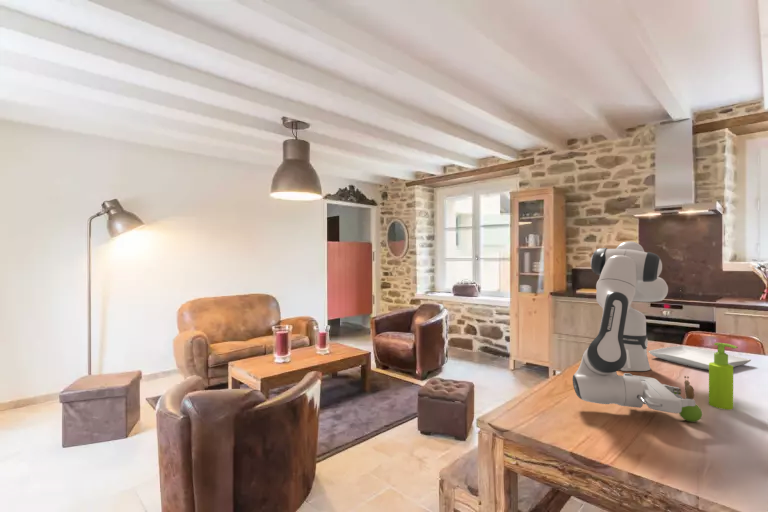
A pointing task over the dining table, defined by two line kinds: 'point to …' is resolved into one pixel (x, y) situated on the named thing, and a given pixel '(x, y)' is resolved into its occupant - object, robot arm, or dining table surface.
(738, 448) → the dining table surface
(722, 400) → the soap dispenser
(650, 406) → the robot arm
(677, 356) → the square plate
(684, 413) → the snail figurine
